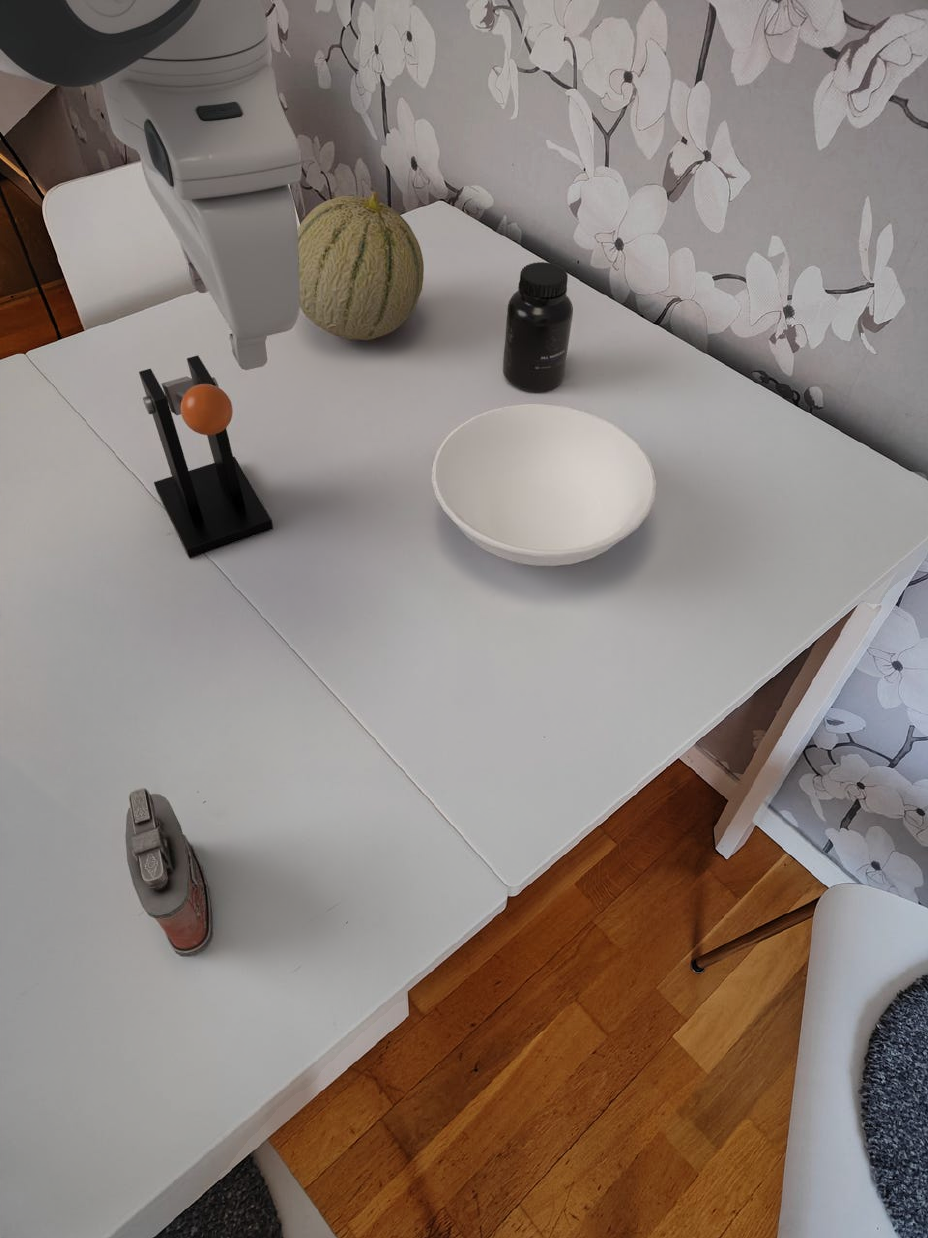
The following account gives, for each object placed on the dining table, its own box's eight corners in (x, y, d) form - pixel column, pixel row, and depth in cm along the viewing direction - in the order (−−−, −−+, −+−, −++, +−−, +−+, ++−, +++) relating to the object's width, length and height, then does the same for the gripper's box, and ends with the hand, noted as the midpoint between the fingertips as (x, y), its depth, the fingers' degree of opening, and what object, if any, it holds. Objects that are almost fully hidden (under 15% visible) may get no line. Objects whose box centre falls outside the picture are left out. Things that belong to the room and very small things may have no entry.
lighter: (221, 945, 57) (186, 885, 49) (169, 965, 56) (124, 907, 48) (198, 837, 61) (162, 767, 53) (149, 854, 60) (105, 784, 53)
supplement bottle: (551, 400, 93) (563, 298, 84) (492, 383, 95) (498, 281, 86) (573, 366, 97) (587, 265, 88) (517, 350, 99) (524, 249, 90)
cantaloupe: (271, 335, 100) (248, 205, 88) (353, 281, 108) (342, 155, 96) (370, 382, 95) (360, 250, 83) (450, 321, 102) (450, 193, 91)
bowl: (468, 437, 89) (470, 385, 84) (660, 479, 86) (673, 428, 81) (401, 573, 77) (398, 521, 72) (621, 629, 74) (633, 579, 69)
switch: (244, 429, 62) (227, 379, 61) (195, 444, 61) (177, 394, 60) (207, 408, 74) (192, 366, 73) (165, 421, 73) (150, 378, 72)
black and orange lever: (273, 528, 80) (245, 396, 69) (189, 558, 78) (145, 426, 66) (236, 465, 86) (204, 332, 74) (156, 491, 83) (110, 358, 72)
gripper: (86, 29, 51) (139, 254, 62) (184, 182, 40) (227, 424, 51) (192, 20, 53) (226, 239, 64) (313, 163, 42) (329, 399, 53)
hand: (227, 322), depth 57 cm, fingers open, 8 cm apart
